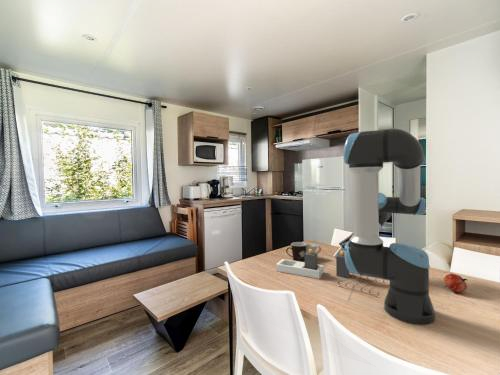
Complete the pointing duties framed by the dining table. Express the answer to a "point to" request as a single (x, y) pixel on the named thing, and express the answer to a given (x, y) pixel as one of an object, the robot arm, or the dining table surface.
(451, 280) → the red fruit with stem
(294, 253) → the coffee mug
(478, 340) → the dining table surface
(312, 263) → the twin plug
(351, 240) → the robot arm
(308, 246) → the teacup
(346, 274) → the plug
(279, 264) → the strip
